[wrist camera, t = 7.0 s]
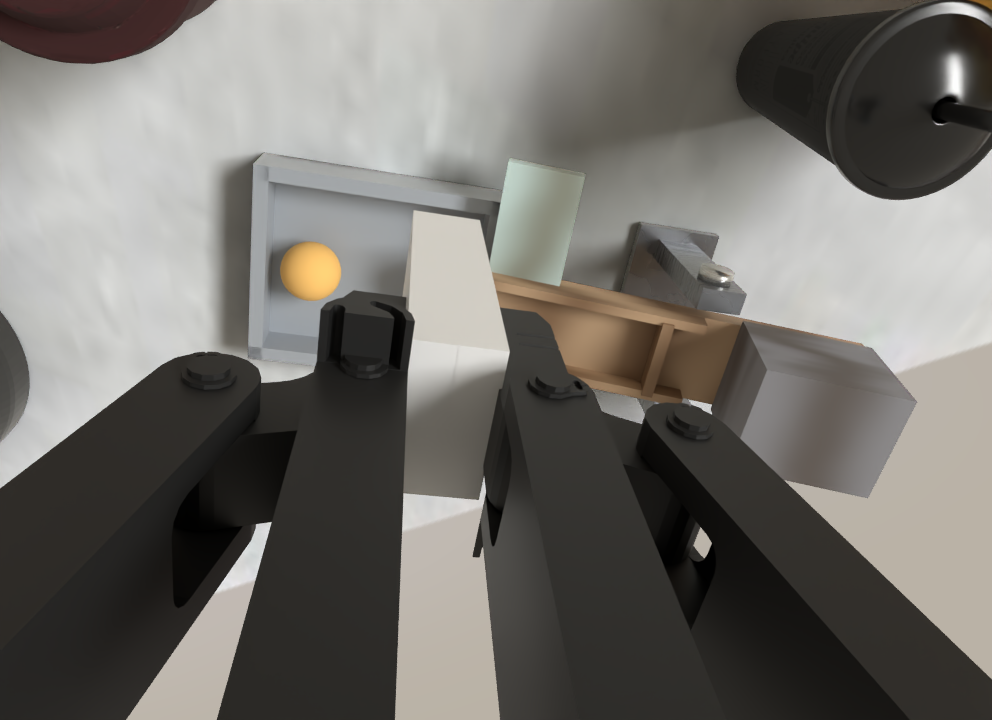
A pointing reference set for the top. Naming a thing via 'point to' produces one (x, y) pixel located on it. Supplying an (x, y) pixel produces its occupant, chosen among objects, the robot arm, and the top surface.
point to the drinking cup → (881, 92)
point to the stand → (680, 273)
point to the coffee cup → (92, 26)
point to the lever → (699, 350)
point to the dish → (338, 239)
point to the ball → (310, 271)
